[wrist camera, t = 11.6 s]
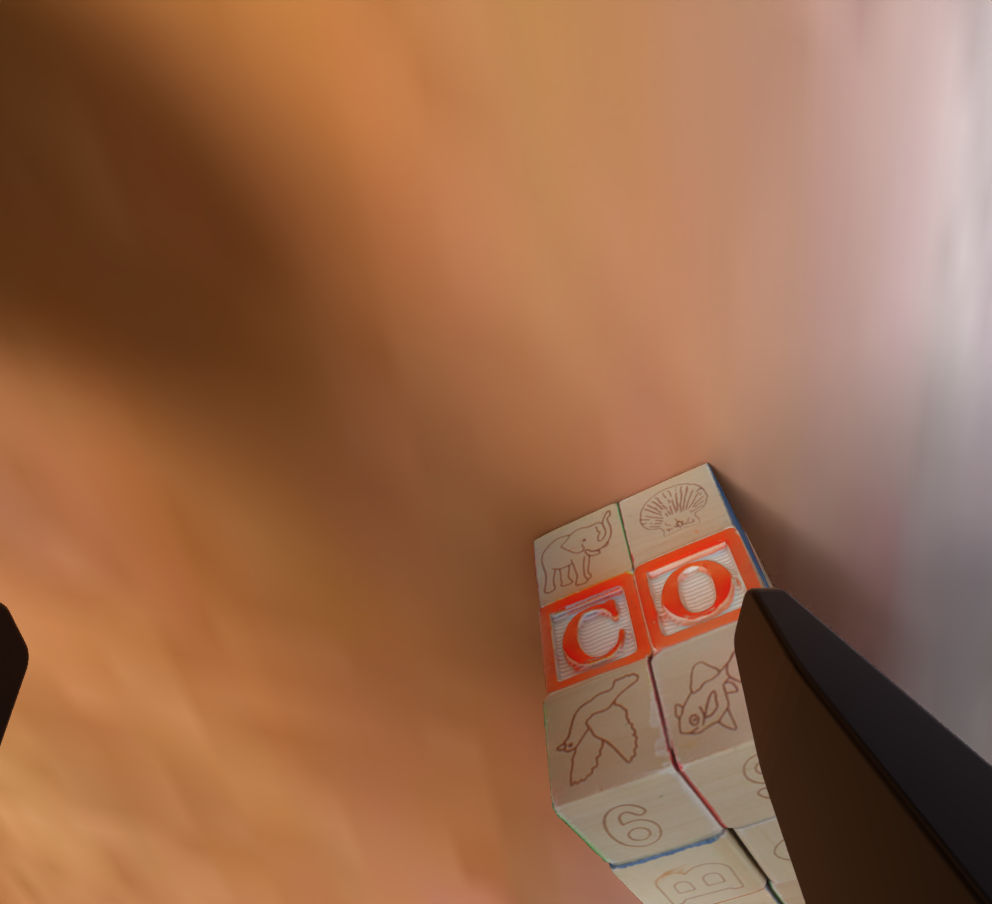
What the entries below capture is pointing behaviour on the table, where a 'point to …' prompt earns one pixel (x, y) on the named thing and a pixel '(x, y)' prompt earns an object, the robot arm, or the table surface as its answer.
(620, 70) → the table surface
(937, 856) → the robot arm
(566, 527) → the stack of blocks
